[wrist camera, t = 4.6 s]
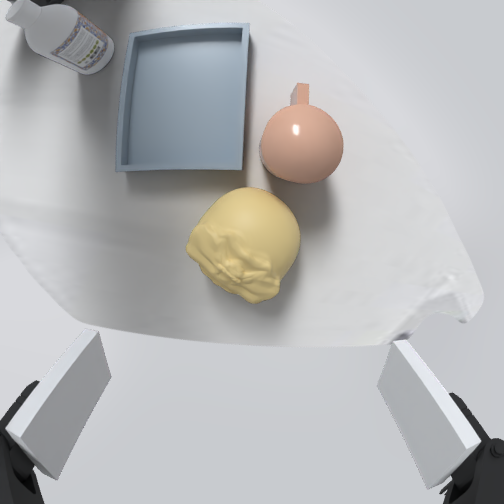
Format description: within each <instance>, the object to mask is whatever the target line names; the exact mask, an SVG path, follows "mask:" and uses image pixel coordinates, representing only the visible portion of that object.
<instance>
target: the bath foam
mask: <svg viewBox="0 0 504 504" xmlns="http://www.w3.org/2000/svg"><path fill="white" fill-rule="evenodd" d="M6 20H7V21H9V22H11V23H13V24H15V25H18V26H20V27H22V28H24V32H25V37H26V40H27V43H28V45H29V46H30V48H31V49H32V50H33V51H34V52H36V53H37V54H39V55H41V56H43V57H46V58H48V59H50V60H53V61H55V62H57V63H59V64H61V65H64V66H66V67H68V68H70V69H72V70H75V71H77V72H79V73H81V74H85V75H89V74H93V73H96V72H98V71H99V70H101V69H102V68H103V67H104V66H105V65H106V64H107V63H108V62H109V60H110V59H111V57H112V55H113V52H114V43H113V40H112V39H111V38H110V37H109V36H108V35H106V34H105V33H104V32H103V31H102V30H101V29H99V28H98V27H97V26H96V25H94V24H93V23H92V22H91V21H90V20H88V19H87V18H86V17H85V16H83V15H82V14H81V13H80V12H78V11H77V10H76V9H74V8H72V7H70V6H67V5H63V4H54V5H48V6H43V7H40V6H38V5H37V4H35V3H33V2H32V1H30V0H17V1H16V2H14V3H13V5H12V6H11V7H10V8H9V10H8V12H7V14H6Z"/></svg>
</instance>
